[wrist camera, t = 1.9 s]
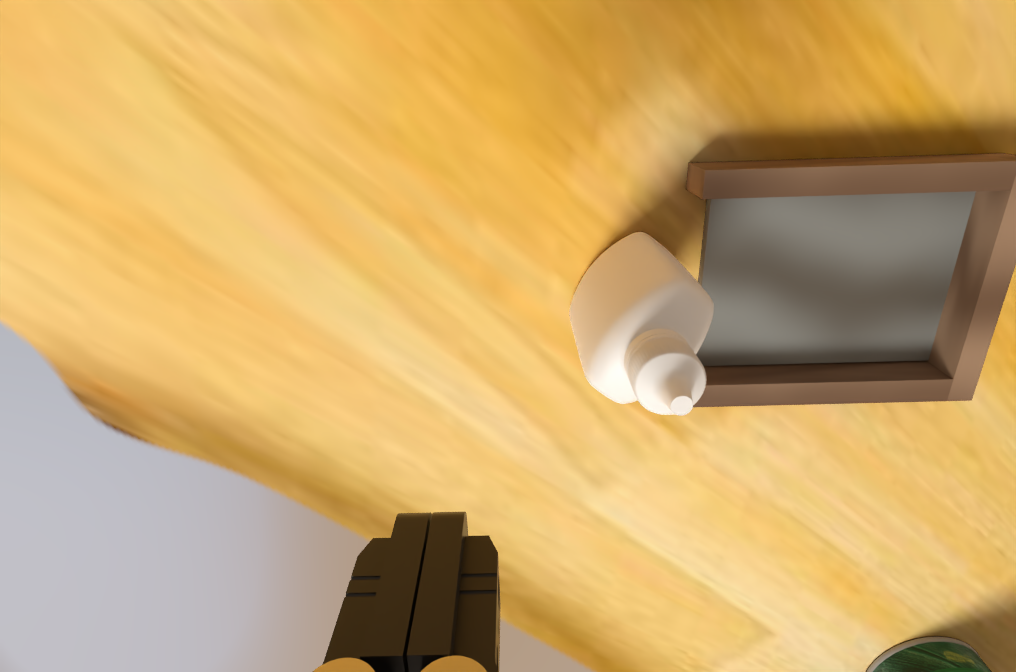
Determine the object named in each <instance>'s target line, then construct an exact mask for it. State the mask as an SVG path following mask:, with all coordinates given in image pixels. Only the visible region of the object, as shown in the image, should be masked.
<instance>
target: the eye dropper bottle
mask: <svg viewBox="0 0 1016 672" xmlns="http://www.w3.org/2000/svg"><path fill="white" fill-rule="evenodd" d="M713 313H714V303H713V301H712V299H711V298H710V296H709V295H708V293H707V292H706V291H705V290H704V289H703V287H702V286H701V285H700V284H699V283H698V282H697V281H696V280H695V279H694V277H693V276H692V275H691V274H690V273H689V272H688V271H687V270H686V269H685V268H684V267H683V265H682V264H681V263H680V262H679V261H678V260H677V259H676V258H675V257H674V256H673V255H672V254H671V253H670V252H669V251H668V250H667V249H666V248H665V247H664V246H663V245H661V244H660V243H659V242H657V241H656V240H655V239H654V238H652V237H651V236H650V235H648V234H646V233H644V232H635V233H632V234H630V235H628V236H626V237H624V238H623V239H621V240H619V241H618V242H616V243H615V244H613V245H612V246H611V247H609V248H608V249H607V250H606V251H604V252H603V253H602V254H601V255H600V256H599V257H598V258H597V259H596V260H595V261H594V262H593V264H592V265H591V266H590V267H589V269H588V270H587V271H586V273H585V274H584V276H583V277H582V279H581V281H580V283H579V285H578V287H577V289H576V291H575V293H574V296H573V299H572V302H571V305H570V310H569V316H570V321H571V325H572V329H573V333H574V337H575V341H576V345H577V349H578V353H579V357H580V360H581V364H582V368H583V371H584V374H585V377H586V379H587V380H588V382H589V383H590V384H591V386H593V387H594V388H595V389H596V390H598V391H599V392H600V393H602V394H603V395H605V396H606V397H608V398H609V399H611V400H613V401H614V402H617V403H621V404H626V403H631V402H634V401H637V400H638V401H639V403H641V405H642V406H643V407H644V408H646V409H647V410H649V411H652V412H653V413H656V414H663V415H669V414H670V415H672V414H676V415H686V414H688V413H689V412H690V411H691V410H692V408H693V405H695V403H696V402H697V401H698V400H699V399H700V397H701V396H702V394H703V392H704V390H705V387H706V386H705V385H706V381H707V379H706V377H707V376H706V372H705V369H704V366H703V365H702V363H701V361H700V360H699V359H698V357H697V356H696V354H697V352H698V350H699V349H700V347H701V345H702V343H703V341H704V339H705V337H706V334H707V332H708V330H709V327H710V324H711V321H712V317H713Z"/></svg>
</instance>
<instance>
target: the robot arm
mask: <svg viewBox="0 0 1016 672" xmlns="http://www.w3.org/2000/svg"><path fill="white" fill-rule="evenodd" d="M499 644H500V587H499V566H498V552H497V550H496V548H495V547H494V545H493V543H492V541H491V539H490V537H489V536H468V527H467V515H466V512H435V513H433V514H431V513H399V514H398V515H397V517H396V520H395V524H394V528H393V532H392V535H391V538H373V539H372V540H371V541H370V543H369V544H368V545H367V546H366V547H365V549H364V550H363V551H362V552H361V553H360V554H359V556H358V557H357V561H356V564H355V567H354V570H353V573H352V576H351V580H350V582H349V585H348V588H347V591H346V597H345V598H344V601H343V604H342V607H341V610H340V613H339V616H338V619H337V622H336V626H335V629H334V632H333V635H332V638H331V641H330V644H329V647H328V650H327V653H326V657H325V660H324V662H323V664H322V665H321V666H320V667H318V668H317V669H315V670H314V671H313V672H499V651H500V650H499V649H500V646H499Z"/></svg>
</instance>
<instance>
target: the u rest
mask: <svg viewBox="0 0 1016 672" xmlns="http://www.w3.org/2000/svg"><path fill="white" fill-rule="evenodd" d="M686 190H688V191H690V192H691V193H693V194H694V195H696V196H698V197H699V198H701V199H707V201H706V211H705V221H704V230H703V240H702V250H701V260H700V269H699V279H698V283H699V284H700V285H701V286H702V287H703V289H704V290H705V291H706V292H707V293H708V295H709V296H710V298H711V299H712V301H713V303H714V313H713V317H712V321H711V324H710V327H709V330H708V332H707V334H706V337H705V339H704V341H703V343H702V345H701V347H700V349H699V350H698V352H697V354H696V356H697V357H698V359H699V360H700V361H701V363H702V365H703V366H704V369H705V372H706V376H707V377H706V379H707V381H706V385H705V386H706V387H705V390H704V392H703V394H702V396H701V397H700V399H699V400H698V401H697V402H696V403H695V405H693V407H722V406H763V405H804V404H844V403H885V402H926V401H967V400H972V398H973V395H974V391H975V388H976V385H977V382H978V379H979V376H980V373H981V370H982V367H983V364H984V361H985V358H986V354H987V351H988V348H989V345H990V342H991V339H992V336H993V333H994V330H995V327H996V324H997V321H998V317H999V314H1000V311H1001V308H1002V305H1003V302H1004V299H1005V296H1006V293H1007V290H1008V287H1009V284H1010V280H1011V277H1012V274H1013V271H1014V268H1015V265H1016V155H1012V154H1005V153H992V154H959V155H927V156H894V157H861V158H828V159H795V160H763V161H730V162H697V163H689V164H688V175H687V186H686Z"/></svg>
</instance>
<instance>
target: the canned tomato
mask: <svg viewBox="0 0 1016 672" xmlns="http://www.w3.org/2000/svg"><path fill="white" fill-rule="evenodd" d="M866 672H992V671H991V670H990V669H989V668H988V667H987V666H986V664H985V663H984V662H983V661H982V659H981V658H980V656H979V655H978V653H977V652H976V651H975V650H974V649H973V648H972V647H971V646H970V645H968V644H966V643H964V642H962V641H960V640H957V639H953V638H949V637H924V638H919V639H914V640H911V641H907V642H904V643H902V644H900V645H897V646H895V647H893V648H891V649H890V650H888V651H886V652H885V653H883V654H882V655H881V656H879V657H878V658H877V659H876V660H875V661H874V662H873V663H872V664H871V665H870V667H869V668H868V670H867V671H866Z"/></svg>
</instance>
